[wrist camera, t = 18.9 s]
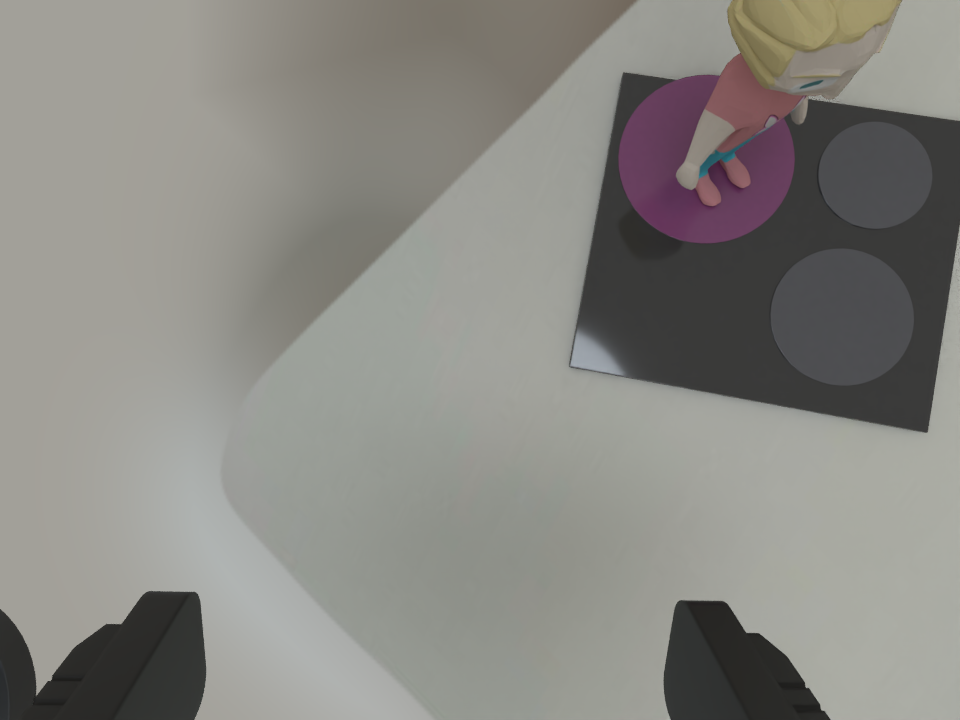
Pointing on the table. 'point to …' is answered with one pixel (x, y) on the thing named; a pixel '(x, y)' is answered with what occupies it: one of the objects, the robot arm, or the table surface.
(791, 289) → the hob
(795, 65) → the toy
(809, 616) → the table surface
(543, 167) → the table surface
